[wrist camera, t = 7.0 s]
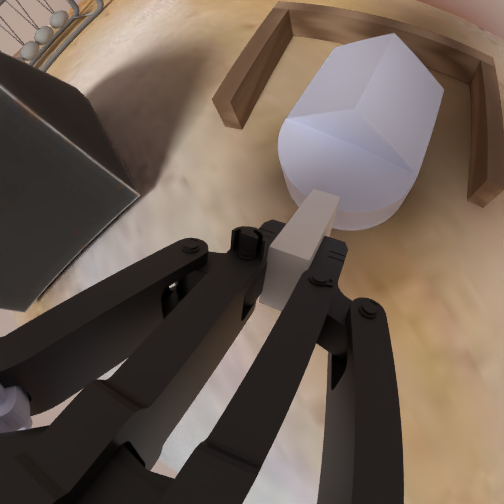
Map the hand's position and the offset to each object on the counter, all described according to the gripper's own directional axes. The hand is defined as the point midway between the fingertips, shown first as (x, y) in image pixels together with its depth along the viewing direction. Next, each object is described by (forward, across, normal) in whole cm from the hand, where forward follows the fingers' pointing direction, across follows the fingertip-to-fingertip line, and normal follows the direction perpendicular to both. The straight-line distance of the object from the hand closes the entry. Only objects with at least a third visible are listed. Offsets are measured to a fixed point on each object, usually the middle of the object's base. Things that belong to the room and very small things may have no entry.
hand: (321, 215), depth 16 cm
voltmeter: (0, -24, -6) cm, 25 cm away
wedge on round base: (+8, +1, +2) cm, 8 cm away
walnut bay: (+11, +1, +7) cm, 13 cm away
